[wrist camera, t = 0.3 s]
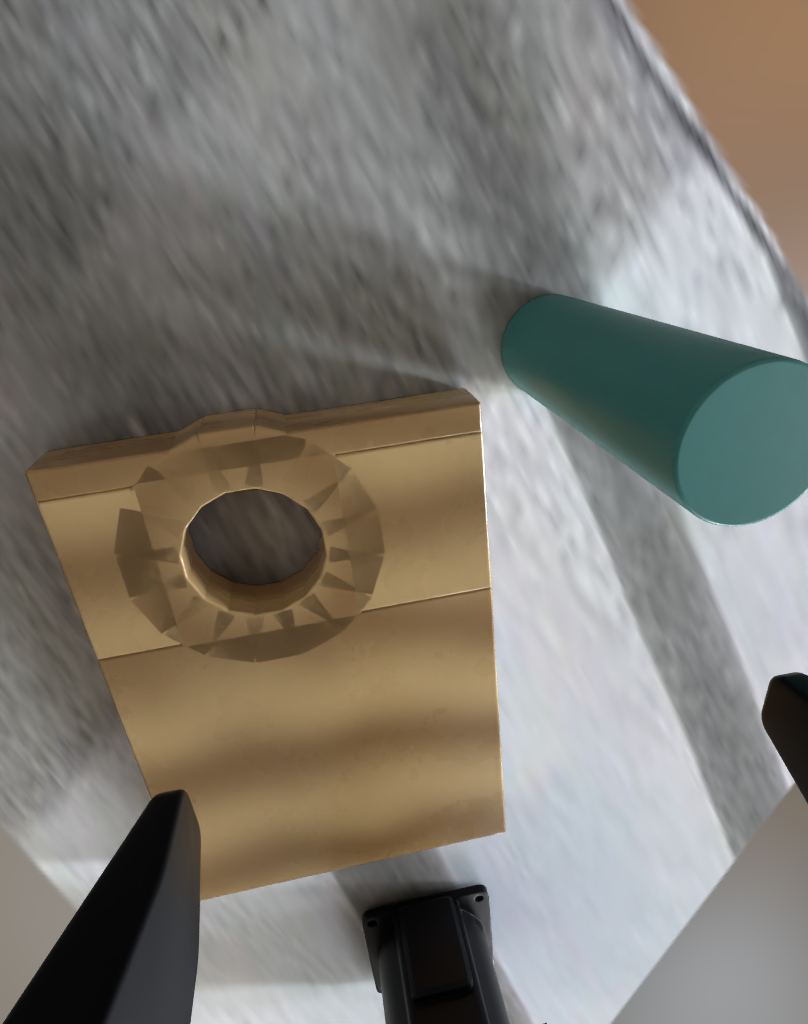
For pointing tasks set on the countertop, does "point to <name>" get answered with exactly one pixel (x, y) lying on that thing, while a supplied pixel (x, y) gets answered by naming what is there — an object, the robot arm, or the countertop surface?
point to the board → (298, 631)
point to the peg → (670, 404)
